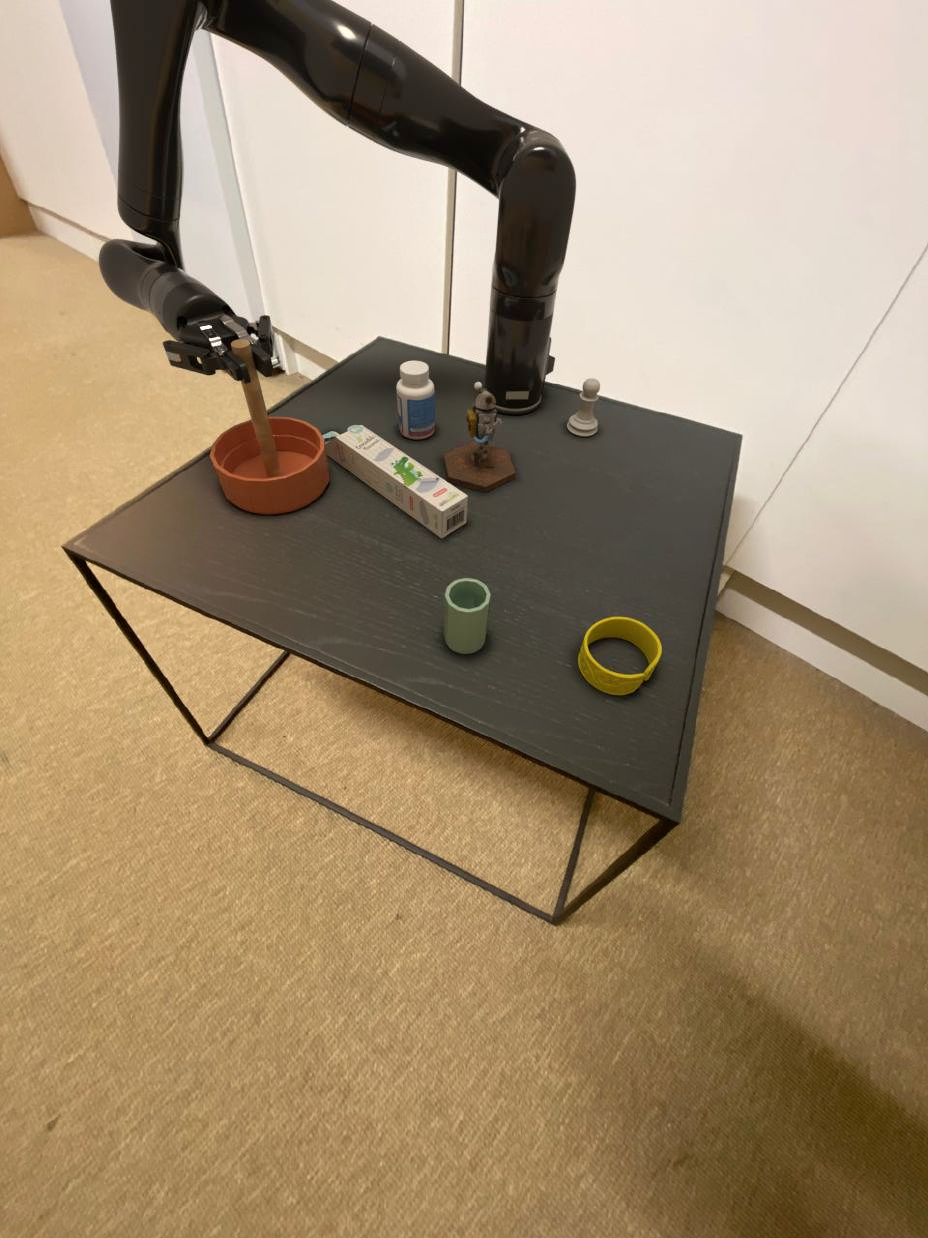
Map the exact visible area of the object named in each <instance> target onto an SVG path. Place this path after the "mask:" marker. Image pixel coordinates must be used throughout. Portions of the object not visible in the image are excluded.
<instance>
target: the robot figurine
mask: <svg viewBox="0 0 928 1238" xmlns="http://www.w3.org/2000/svg"><path fill="white" fill-rule="evenodd" d="M474 389H475V390H476V391H478V394H477V396H476V397H475V402H473V403H472V404H471V405H472V408H471V409H466V422H467V428H468V429H467V430H468V434H469V436H470V438H471V439H473V440H472V441H469V442H467V443H465V444H462V445H460V446H458V447H455V448H453V449H451V450H448V451H446V452H444V453H443V463H444V468H445V472H446V473H445V474H446V477H447V478H446V479H447V482H448V483H450V484H451V485H456V486H459V487H463V488H467V489H471V490H473V491H478V492H481V493H487V492H489V491H492V490H494V489H496V488H498V487H500V486H502V485H505V484H506V483H509V482H510V481H512V480H514V479H515V478H516V471H515V467H514V464H513V461H512V459H511V455H510V453H509V450H508V449H506V448H502V447H498V446H494V445H491V444H489V442H492V441H493V439H494V435H495V432H496V430H498V429H499V428H500V427H501V426H502V425H503V421H502V420H501V418H499V417H498V412H497V411H496V409H494V407H495V404H496V400H495V397H494V396H493V395H492V394H491V393H489V392H488V391H487V389H485V388H484V387H483V384H482V382H480V381H476V382H475V383H474Z"/></svg>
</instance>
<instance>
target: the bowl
mask: <svg viewBox="0 0 928 1238" xmlns="http://www.w3.org/2000/svg"><path fill="white" fill-rule="evenodd" d="M268 418H269V422H270V426H271V430H272V434H273V438H274V442H275V446H276V450H277V454H278V458H279V462H280V466H281V470H282V474H283V476H278V477H272V478H267V474H266V471H265V467H264V463H263V460H262V456H261V453H260V449H259V445H258V442H257V438H256V434H255V431H254V427H253V423H252V420H251V419H249V420H246V421H243V422H240V423H237V424H235V425H233V426H231V427H230V428H228V429H227V430H225V431H223V432H222V433H220V434H219V436H217V438H216V439H215V441H213V443H212V444H211V448H210V453H209V454H210V455H209V457H210V460H211V463H212V466H213V469H214V472H215V474H216V477H217V480H218V482H219V485H220V487H221V490H222V491H223V495H224V496H225V498H226V499H227V500H228V501H229V502H231V503H232V504H233V505H235V506H236V507H238V508H239V509H242V510H244V511H246V512H249V513H252V514H253V513H254V514H260V515H278V514H286V513H289V512H293V511H297V510H299V509H302V508H304V507H306V506H308V505H310V504H311V503H313V502H315V501H316V500H317V499H318V498H319V497H320V496H321V495H322V494H323V493H324V491H325V490H326V487H327V486H328V484H329V482H330V479H331V478H330V465H329V460H328V459H329V458H328V455H327V453H326V447H325V443H326V441H325V439H324V438H323V436H322V435H323V434H322V433H321V432H320V430H319V429H318V428H317V427H316V426H314V425H313V424H311V423H309V422H307V421H305V420H302V419H298V418H294V417H290V416H268Z"/></svg>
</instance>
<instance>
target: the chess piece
mask: <svg viewBox="0 0 928 1238" xmlns="http://www.w3.org/2000/svg"><path fill="white" fill-rule="evenodd" d="M600 390H601V383H600V381H599V380H598V379H596V378H593V377H590V378H587V379H585V381H583V383H582V391H581V392H580V393H579V397H580V399H581V402H580V408H579V410H578V411H577V412H576V413H575V414H573V415H571V416H570V417H569V418H568V422H567V424H566V428H567V430H568V431H569V432H570V433H571V434H572V435H573V436H577V437H582V438H587V437H591V436H594V435H595V434H596V433H597V432H598V425H599V422H598V419H597V418H596V417H595V416H594V413H593V409H594V407H595V403H596V402H597V401H598V400H599V398H600V396H599V395H598V393H599V392H600Z"/></svg>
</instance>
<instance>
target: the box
mask: <svg viewBox="0 0 928 1238" xmlns="http://www.w3.org/2000/svg"><path fill="white" fill-rule="evenodd" d="M321 435H322V436H323V438H324V440H326V439H330V440H328V441H325V447H326V453H327V457H329V458H331V459H332V460H333V461H335V462H336V463H337V464H339V465H340V466H341V467H343V468H344V469H345V470H347V471H348V472H350V473H351V474H352V475H354V476H355V477H357V479H359V480H360V481H362V482H363V483H365V484H366V485H367V486H369V487H370V488H371V489H373V490H374V491H376V492H377V493H378V494H380V495H381V496H382V497H384V498H385V499H386V500H388V501H389V502H391V503H392V504H394V505H395V506H396V507H398V508H399V509H400V510H401V511H403V512H404V513H406V514H407V515H409V516H410V517H412V518H413V519H414V520H415V521H417V522H418V523H420V524H421V525H423V526H424V527H425V528H427V529H428V530H429V531H431V532H432V533H433V534H435V535H436V536H437V537H439V538H440V539H444V538H445V537H447V536H448V535H450V534H451V533H453V532H454V531H456V530H457V529H459V528H461V527H462V526H464V525H465V524H467V518H468V517H467V516H468V499H469V496H468V494H466V493H465V492H464V491H461V490H460V489H459V488H457V487H456V486H454V484H452V483H448V480H447V481H446V480H445V479H444V478H442V477H440V476H439V475H438V474H436V473H434V471H432V470H430V469H429V468H427V467H426V466H424V465H423V464H422V463H419V462H418V461H417V460H415V459H414V458H412V457H411V456H409V455H408V454H406V453H405V452H403V451H402V450H400V449H398V448H397V447H396V446H394V445H393V444H392V443H390V442H388V441H386V440H385V439H383V438H382V437H380V436H379V435H377V434H376V433H375V432H373V431H372V430H370V429H368V428H367V427H365V426H364V425H362V424H360V425H358V424H353V425H350V426H349V427H348V428H347V431H345V432H344V433H341V434H339V433H338V432H336V431H332V430H331V431H329V432H327V433H325V434H321ZM331 438H332V439H331Z"/></svg>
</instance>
